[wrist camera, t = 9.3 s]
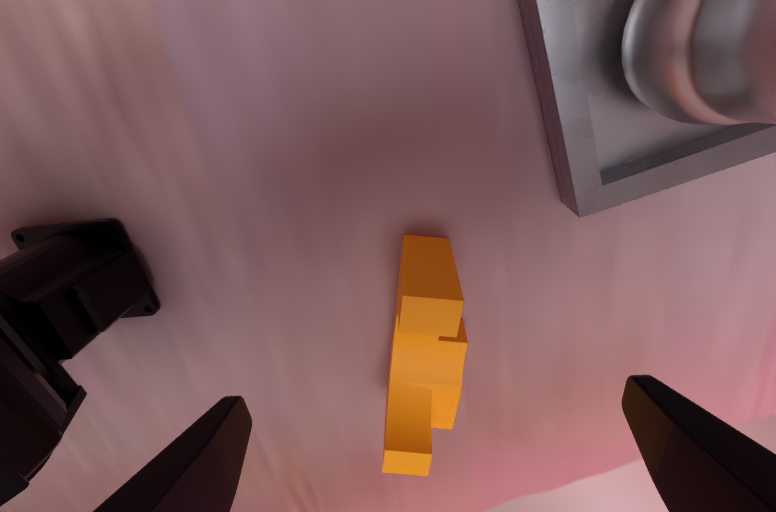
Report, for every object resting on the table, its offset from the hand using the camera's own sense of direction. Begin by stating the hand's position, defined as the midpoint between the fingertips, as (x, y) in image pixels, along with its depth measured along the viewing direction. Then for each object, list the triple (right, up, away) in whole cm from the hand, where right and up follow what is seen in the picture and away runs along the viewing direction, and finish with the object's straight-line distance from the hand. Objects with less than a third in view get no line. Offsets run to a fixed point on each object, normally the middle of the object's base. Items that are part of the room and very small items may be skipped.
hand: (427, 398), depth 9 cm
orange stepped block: (+2, -1, +15) cm, 16 cm away
